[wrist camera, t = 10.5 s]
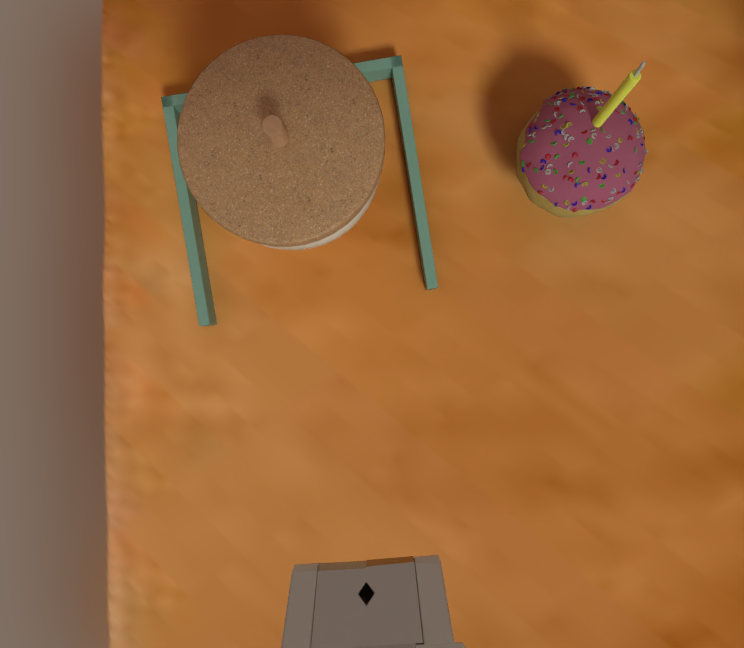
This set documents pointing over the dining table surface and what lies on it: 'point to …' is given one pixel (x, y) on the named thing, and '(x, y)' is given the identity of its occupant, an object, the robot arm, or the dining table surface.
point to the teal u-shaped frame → (188, 204)
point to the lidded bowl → (282, 142)
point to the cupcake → (581, 150)
